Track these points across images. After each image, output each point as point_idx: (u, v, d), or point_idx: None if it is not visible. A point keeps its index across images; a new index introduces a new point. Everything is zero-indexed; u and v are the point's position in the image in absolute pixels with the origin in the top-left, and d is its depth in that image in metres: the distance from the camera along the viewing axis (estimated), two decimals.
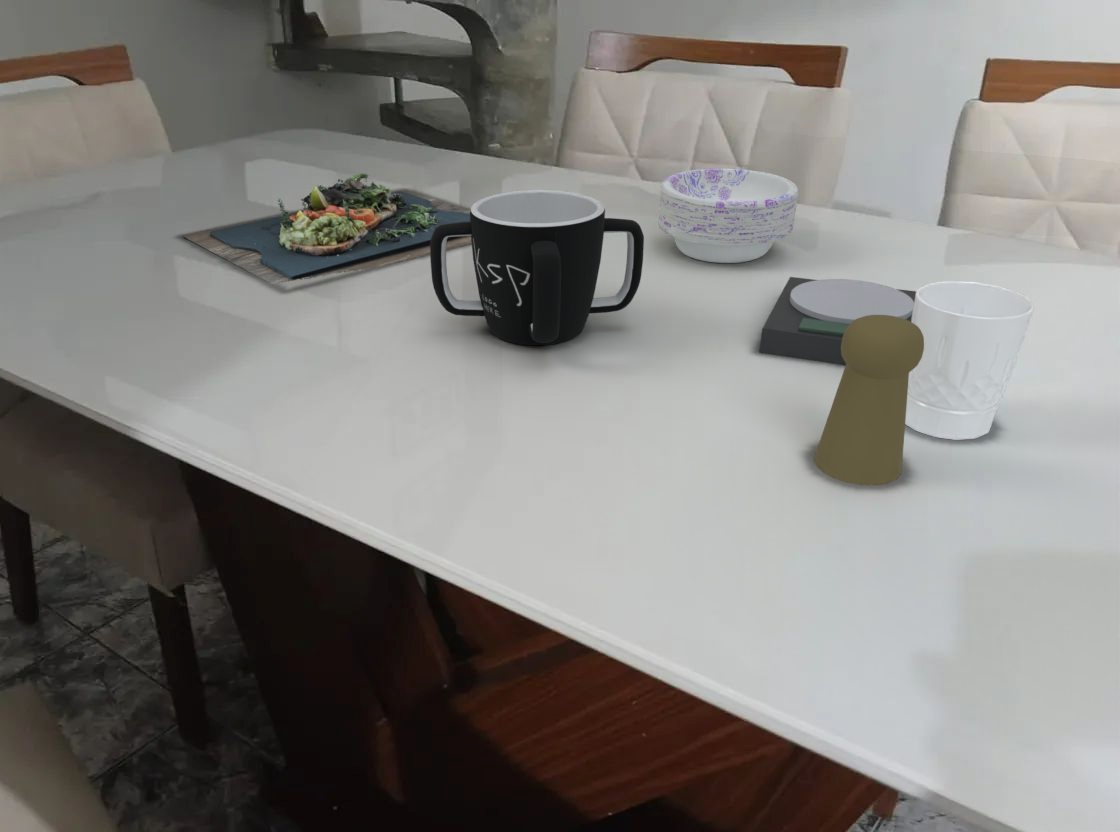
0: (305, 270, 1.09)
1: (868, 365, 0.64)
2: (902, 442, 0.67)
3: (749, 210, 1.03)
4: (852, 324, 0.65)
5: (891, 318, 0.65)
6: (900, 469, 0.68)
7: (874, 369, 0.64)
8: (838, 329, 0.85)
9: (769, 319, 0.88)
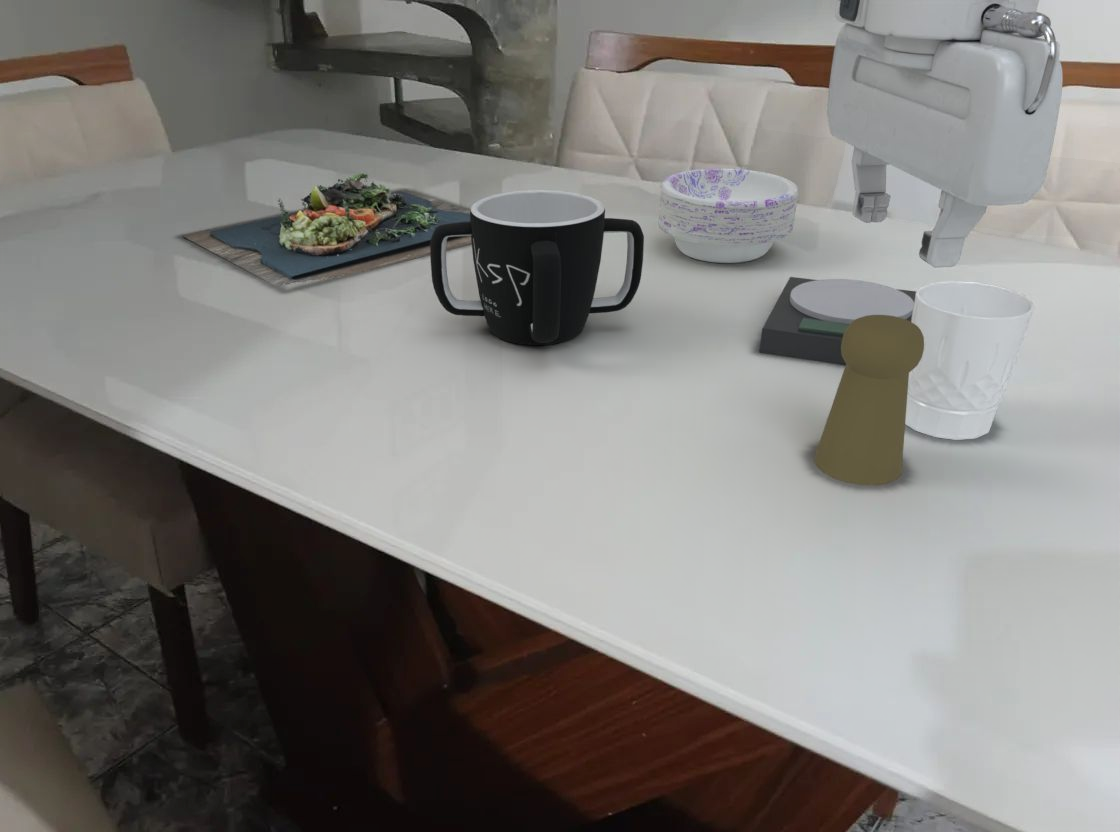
0: (305, 269, 1.09)
1: (868, 365, 0.64)
2: (902, 442, 0.67)
3: (749, 210, 1.03)
4: (852, 324, 0.65)
5: (891, 318, 0.65)
6: (900, 469, 0.68)
7: (874, 369, 0.64)
8: (838, 329, 0.85)
9: (769, 319, 0.88)
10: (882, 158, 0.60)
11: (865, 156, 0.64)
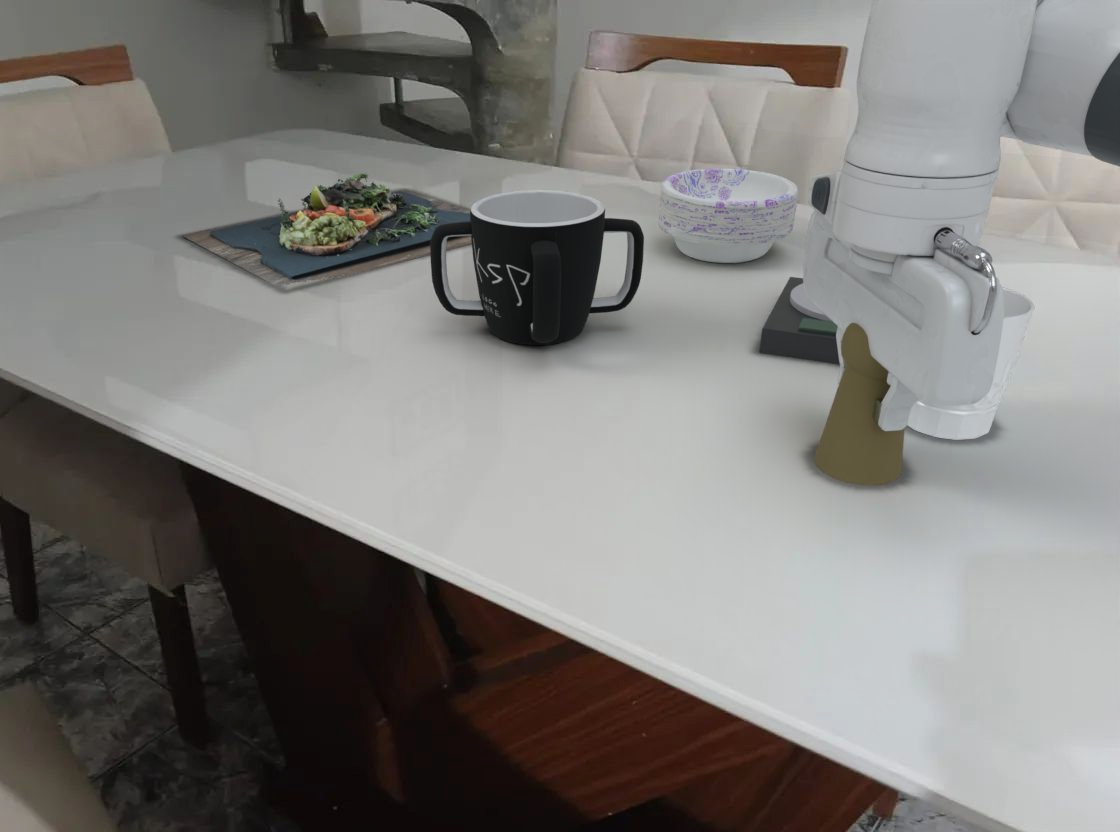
0: (305, 269, 1.09)
1: (867, 365, 0.64)
2: (902, 442, 0.67)
3: (749, 210, 1.03)
4: (852, 324, 0.65)
5: None
6: (900, 469, 0.68)
7: (873, 369, 0.64)
8: None
9: (769, 319, 0.88)
10: None
11: None
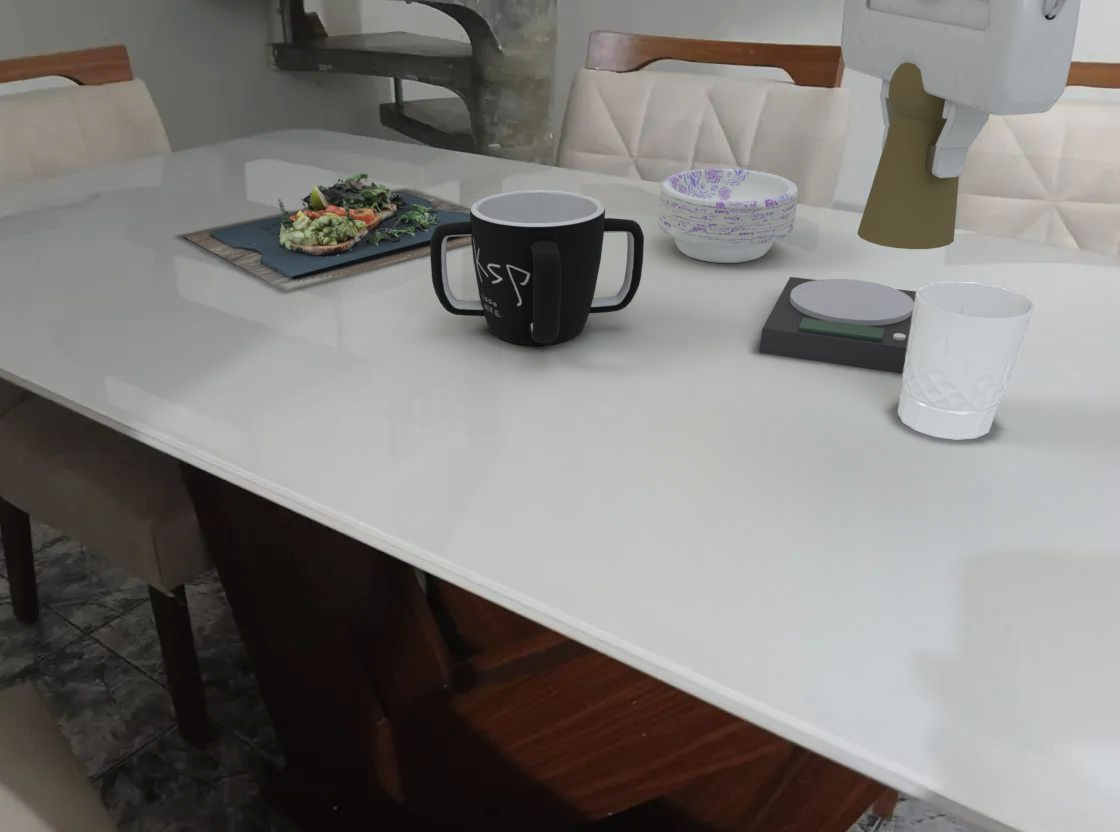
0: (305, 269, 1.09)
1: (920, 104, 0.58)
2: (955, 201, 0.62)
3: (749, 210, 1.03)
4: (901, 65, 0.60)
5: None
6: (953, 234, 0.63)
7: (926, 108, 0.58)
8: (838, 329, 0.85)
9: (769, 319, 0.88)
10: None
11: None
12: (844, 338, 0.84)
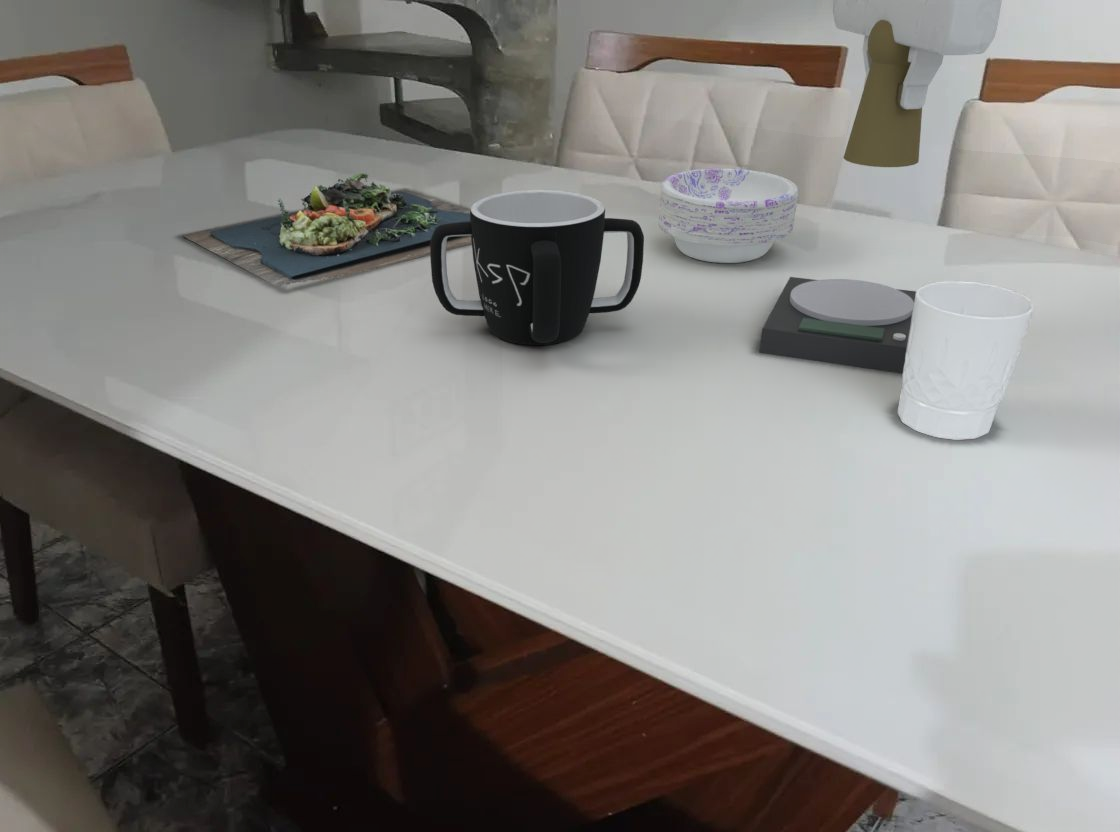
0: (305, 269, 1.09)
1: (891, 51, 0.76)
2: (919, 129, 0.79)
3: (749, 210, 1.03)
4: (877, 22, 0.77)
5: None
6: (917, 156, 0.80)
7: (896, 54, 0.76)
8: (838, 329, 0.85)
9: (769, 319, 0.88)
10: None
11: None
12: (844, 338, 0.84)
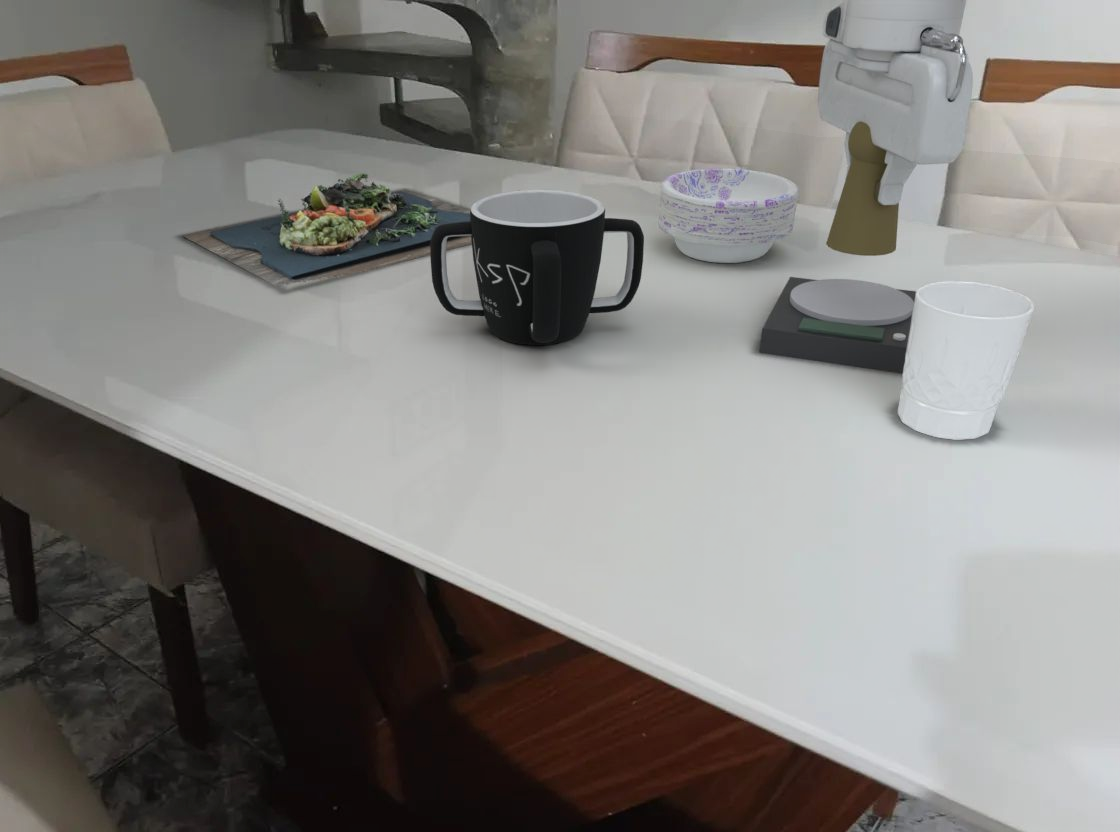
0: (305, 269, 1.09)
1: (869, 152, 0.82)
2: (896, 221, 0.85)
3: (749, 210, 1.03)
4: (857, 123, 0.83)
5: None
6: (895, 245, 0.86)
7: (874, 155, 0.82)
8: (838, 329, 0.85)
9: (769, 319, 0.88)
10: None
11: None
12: (844, 338, 0.84)
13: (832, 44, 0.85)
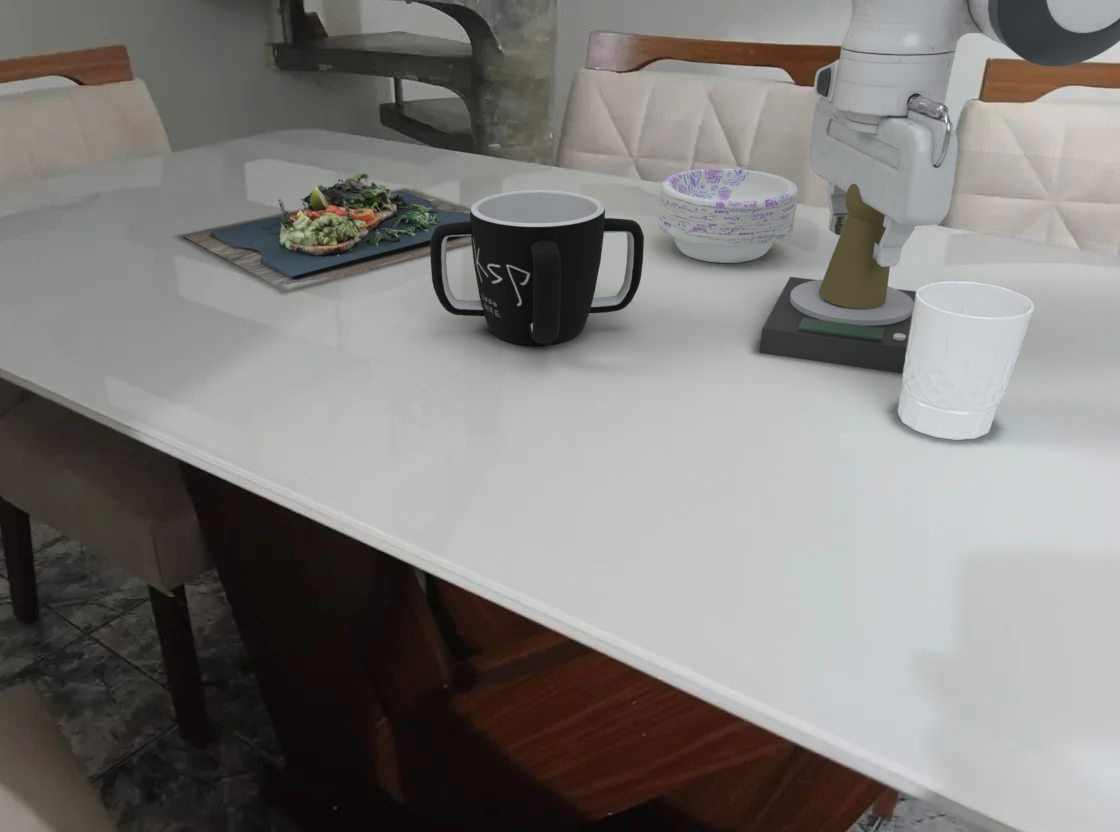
0: (305, 269, 1.09)
1: (865, 211, 0.84)
2: (887, 276, 0.88)
3: (749, 210, 1.03)
4: None
5: None
6: (884, 298, 0.89)
7: (869, 214, 0.84)
8: (838, 329, 0.85)
9: (769, 319, 0.88)
10: None
11: (836, 188, 0.90)
12: (844, 338, 0.84)
13: (823, 102, 0.88)
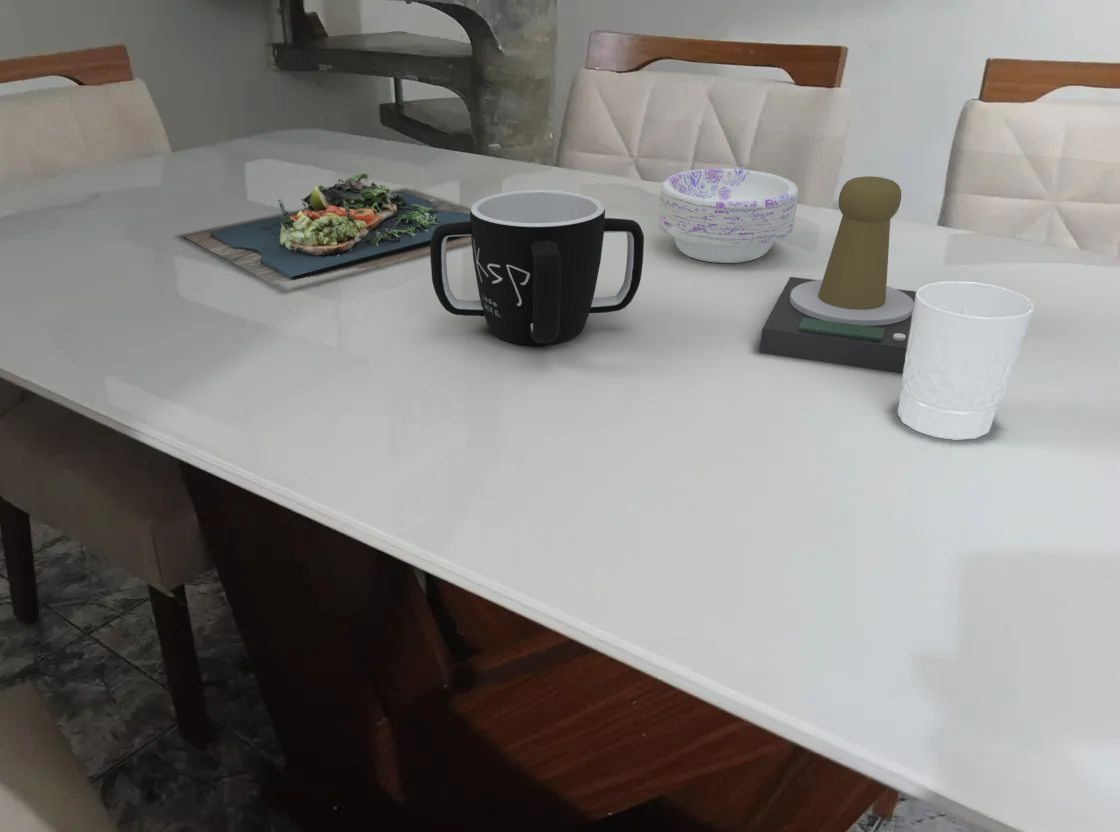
0: (305, 270, 1.09)
1: (858, 211, 0.84)
2: (885, 276, 0.88)
3: (749, 210, 1.03)
4: (847, 182, 0.86)
5: (876, 177, 0.85)
6: (884, 298, 0.89)
7: (863, 214, 0.84)
8: (838, 329, 0.85)
9: (769, 319, 0.88)
10: None
11: None
12: (844, 338, 0.84)
13: None
